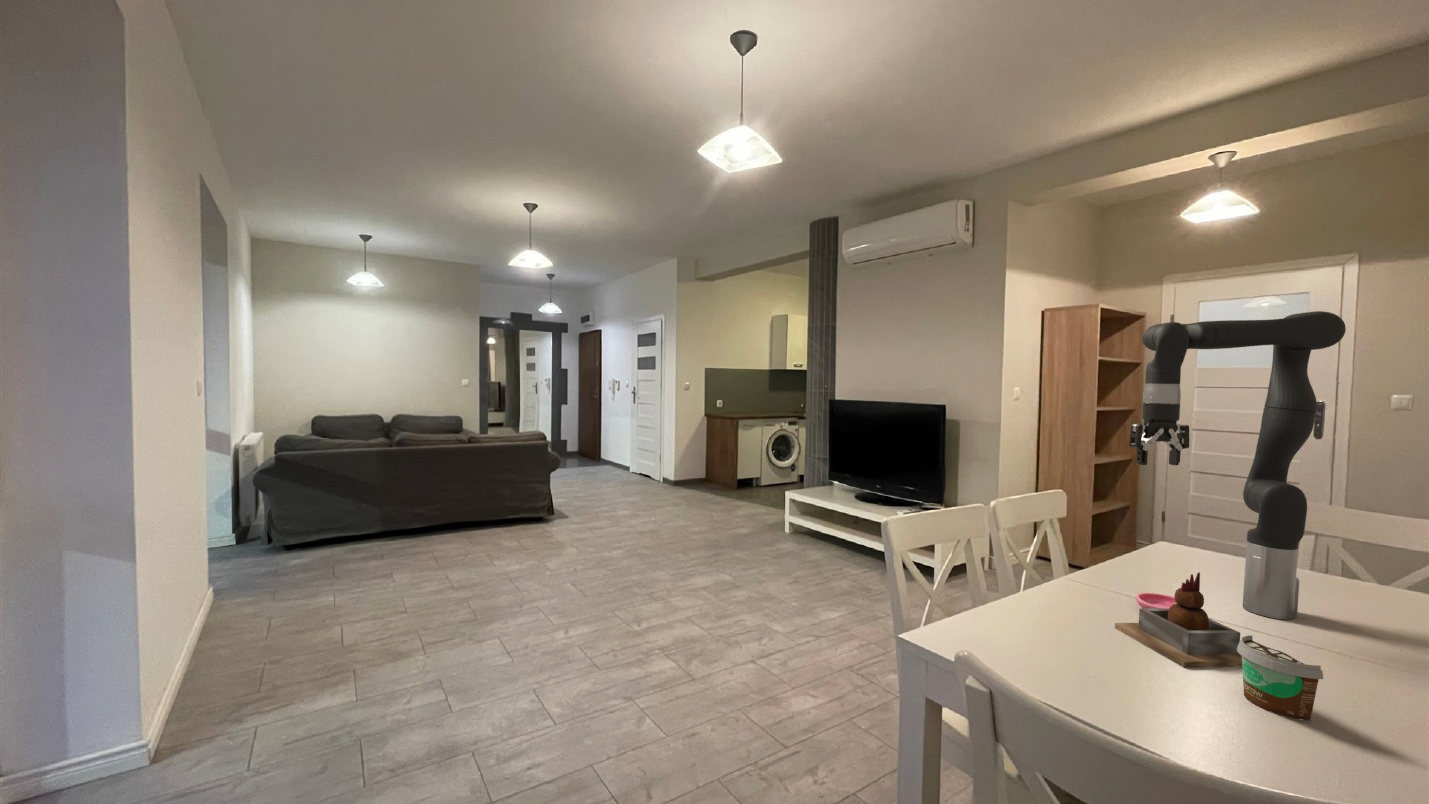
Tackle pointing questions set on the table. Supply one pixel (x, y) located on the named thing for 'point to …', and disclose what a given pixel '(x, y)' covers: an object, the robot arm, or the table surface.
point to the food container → (1278, 680)
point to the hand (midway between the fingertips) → (1157, 464)
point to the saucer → (1155, 601)
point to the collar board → (1185, 640)
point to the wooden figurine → (1189, 607)
